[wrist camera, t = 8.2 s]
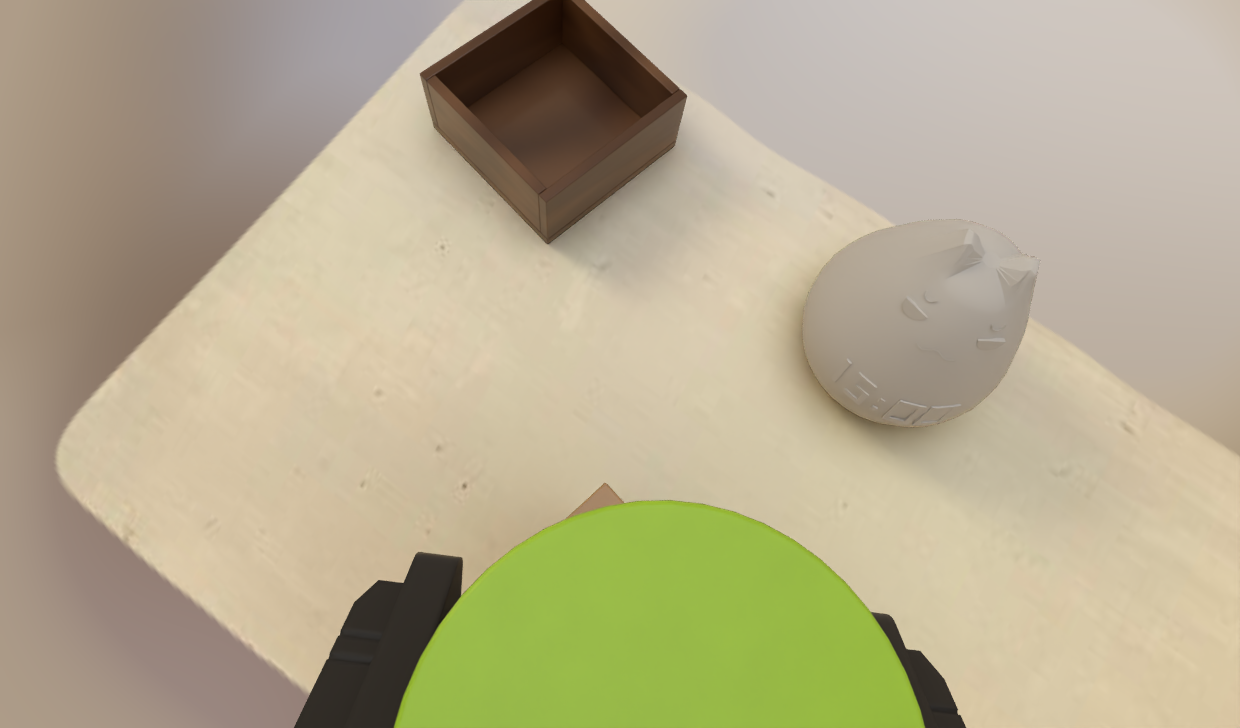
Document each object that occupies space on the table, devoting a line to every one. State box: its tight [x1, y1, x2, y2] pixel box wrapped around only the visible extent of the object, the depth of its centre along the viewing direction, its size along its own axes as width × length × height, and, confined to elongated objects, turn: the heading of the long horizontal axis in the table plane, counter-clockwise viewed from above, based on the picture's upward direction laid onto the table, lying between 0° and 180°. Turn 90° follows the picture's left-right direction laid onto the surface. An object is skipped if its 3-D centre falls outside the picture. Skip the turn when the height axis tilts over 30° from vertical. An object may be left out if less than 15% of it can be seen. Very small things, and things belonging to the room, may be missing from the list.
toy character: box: [802, 219, 1040, 427], centre depth 34 cm, size 10×10×12 cm
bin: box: [420, 0, 687, 244], centre depth 40 cm, size 10×10×5 cm
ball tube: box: [394, 500, 925, 728], centre depth 13 cm, size 6×6×10 cm
